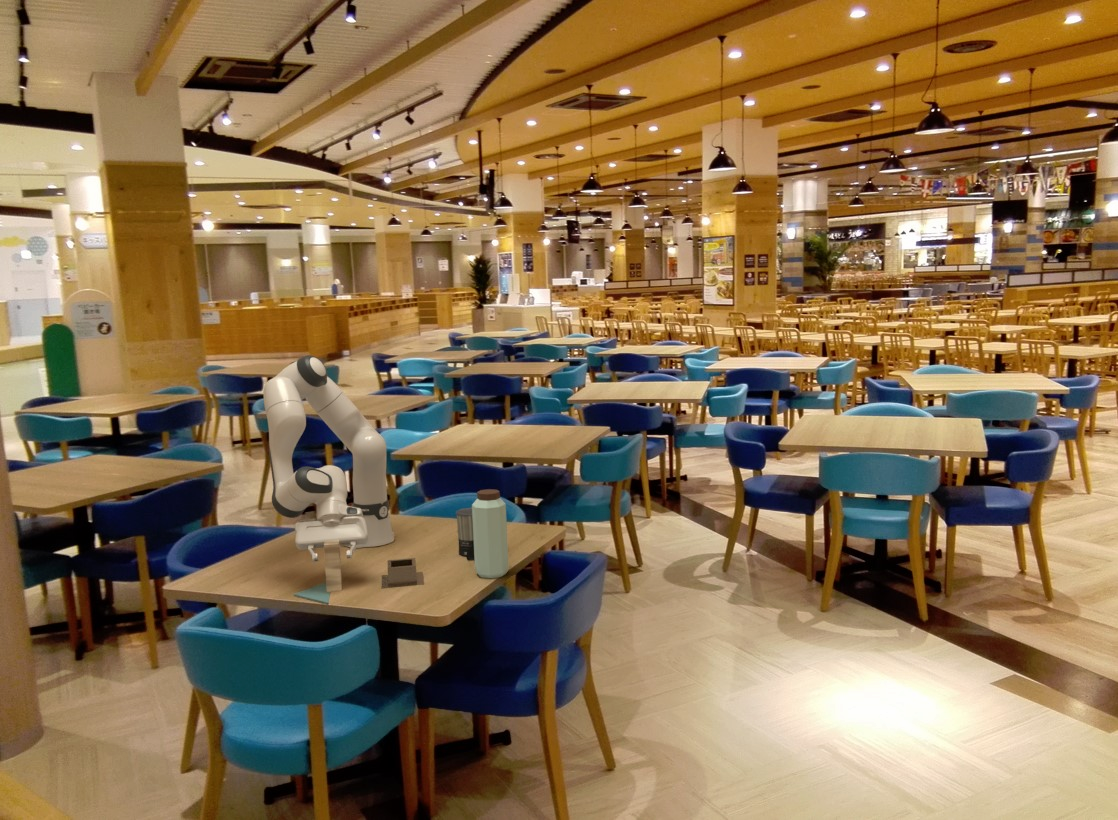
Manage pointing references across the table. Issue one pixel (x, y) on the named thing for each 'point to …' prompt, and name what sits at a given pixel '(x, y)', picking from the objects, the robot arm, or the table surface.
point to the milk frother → (465, 533)
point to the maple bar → (333, 566)
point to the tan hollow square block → (402, 574)
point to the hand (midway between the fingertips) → (332, 559)
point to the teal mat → (315, 594)
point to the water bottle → (490, 534)
